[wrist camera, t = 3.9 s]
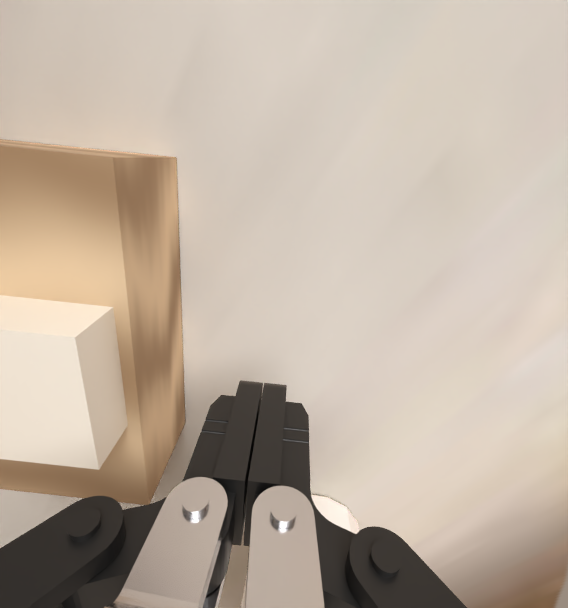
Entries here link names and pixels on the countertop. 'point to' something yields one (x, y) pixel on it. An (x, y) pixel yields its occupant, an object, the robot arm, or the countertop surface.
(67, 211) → the tan flat block
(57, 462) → the tile
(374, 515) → the countertop surface
